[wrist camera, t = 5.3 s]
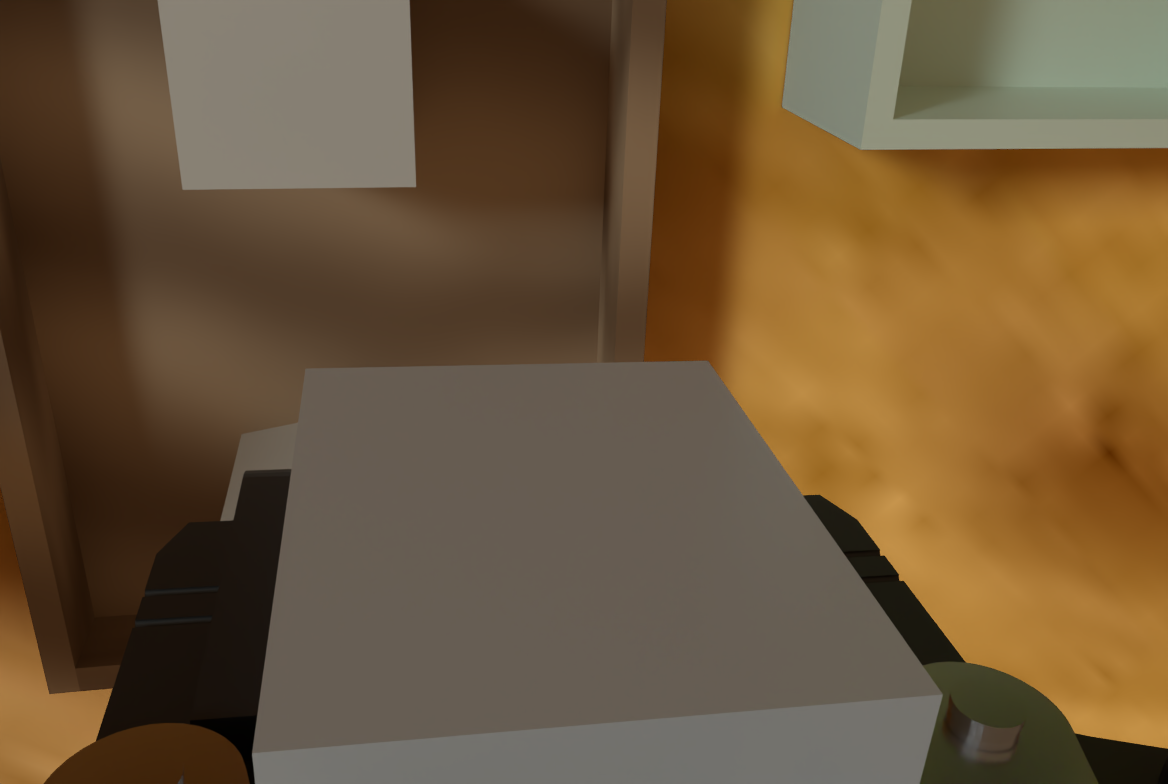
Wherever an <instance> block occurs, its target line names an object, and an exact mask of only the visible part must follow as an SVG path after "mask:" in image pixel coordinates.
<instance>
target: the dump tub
mask: <svg viewBox="0 0 1168 784" xmlns="http://www.w3.org/2000/svg"><path fill="white" fill-rule="evenodd" d="M782 107H783V108H784V109H786V110H788V111H790V112H792V113H794V114H796V115H797V116H799V117H801V118H803V119H805V120H807V121H808V122H810V123H812V124H814V125H816V126H818V127H820V128H821V129H823V130H825V131H827V132H829V133H831V134H832V135H834V136H836V137H838V138H840V139H842V140H844V141H845V142H847V143H849V144H851V145H853V146H855V147H856V148H858V149H860V150H900V149H1071V148H1168V0H794V5H793V14H792V23H791V32H790V41H789V49H788V58H787V67H786V76H785V85H784V94H783V103H782Z"/></svg>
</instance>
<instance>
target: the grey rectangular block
mask: <svg viewBox="0 0 1168 784" xmlns="http://www.w3.org/2000/svg"><path fill="white" fill-rule="evenodd" d="M158 8H159V15H160V23H161V30H162V38H163V46H164V53H165V61H166V68H167V76H168V83H169V91H170V98H171V106H172V113H173V121H174V129H175V136H176V144H177V151H178V159H179V166H180V174H181V181H182V189H183V190H209V189H295V188H382V187H416V169H415V141H414V112H413V84H412V56H411V27H410V0H158Z"/></svg>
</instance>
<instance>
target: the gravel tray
mask: <svg viewBox="0 0 1168 784" xmlns="http://www.w3.org/2000/svg"><path fill="white" fill-rule="evenodd" d="M666 3H667V0H410V27H411V56H412V84H413V112H414V141H415V169H416V187H382V188H295V189H209V190H183V189H182V181H181V174H180V166H179V159H178V151H177V144H176V136H175V129H174V121H173V113H172V106H171V98H170V91H169V83H168V76H167V68H166V61H165V53H164V46H163V38H162V30H161V23H160V15H159V8H158V0H0V488H1V492H2V496H3V500H4V504H5V509H6V513H7V517H8V521H9V526H10V530H11V534H12V538H13V542H14V547H15V551H16V555H17V559H18V563H19V568H20V572H21V576H22V580H23V584H24V589H25V593H26V597H27V601H28V606H29V610H30V614H31V618H32V622H33V627H34V631H35V635H36V639H37V643H38V648H39V652H40V656H41V660H42V664H43V669H44V673H45V677H46V681H47V686H48V690H49V694H54V693H65V692H76V691H87V690H99V689H110V688H113V687H114V684H115V680H116V677H117V674H118V671H119V668H120V665H121V662H122V659H123V656H124V653H125V649H126V646H127V643H128V640H129V637H130V634H131V631H132V628H135V618H136V615H137V612H138V609H139V606H140V603H141V600H142V597H145V587H146V584H147V581H148V578H149V575H150V572H151V569H152V566H153V563H154V560H155V556H156V554H157V553H158V552H159V551H160V550H161V549H162V548H163V547H164V546H165V545H166V544H167V543H168V542H169V541H170V540H171V539H172V538H173V537H174V536H175V535H176V534H177V533H178V532H180V531H181V530H182V529H183V528H184V527H185V526H186V525H187V524H188V523H189V522H209V521H220V520H221V516H222V512H223V508H224V504H225V500H226V496H227V492H228V488H229V484H230V479H231V475H232V471H233V467H234V463H235V459H236V455H237V451H238V447H239V443H240V439H241V434H245V433H250V432H254V431H259V430H264V429H269V428H274V427H279V426H284V425H289V424H294V423H298V419H299V412H300V405H301V398H302V390H303V383H304V376H305V369H310V368H361V367H412V366H463V365H514V364H566V363H617V362H644V348H645V333H646V317H647V301H648V285H649V270H650V254H651V238H652V223H653V207H654V191H655V175H656V160H657V144H658V128H659V113H660V97H661V81H662V65H663V50H664V34H665V18H666Z"/></svg>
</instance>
